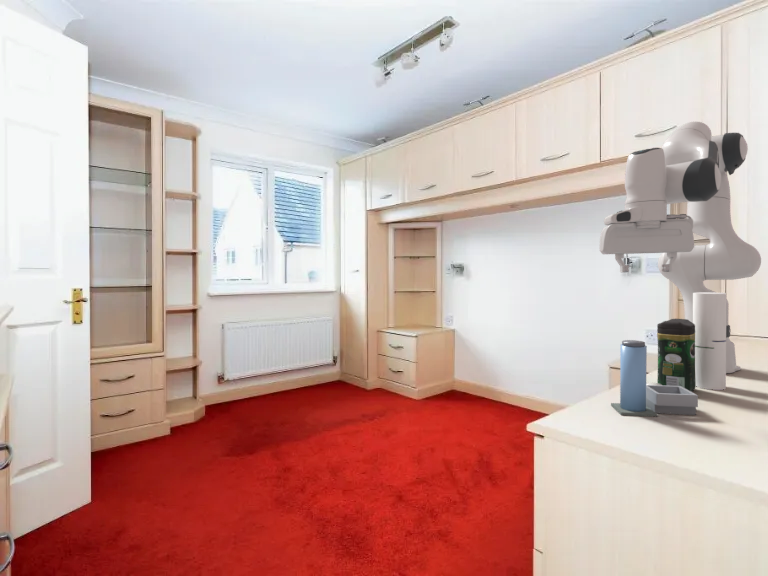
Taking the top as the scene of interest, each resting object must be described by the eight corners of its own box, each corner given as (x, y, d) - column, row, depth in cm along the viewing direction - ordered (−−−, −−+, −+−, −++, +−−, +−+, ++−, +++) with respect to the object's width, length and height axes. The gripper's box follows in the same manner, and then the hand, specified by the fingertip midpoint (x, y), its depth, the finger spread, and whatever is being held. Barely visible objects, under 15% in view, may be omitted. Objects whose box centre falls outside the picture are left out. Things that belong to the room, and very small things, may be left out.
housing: (630, 394, 110) (630, 376, 110) (665, 395, 108) (665, 377, 108) (656, 414, 94) (656, 393, 94) (698, 416, 93) (698, 395, 93)
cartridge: (617, 403, 100) (617, 339, 99) (640, 404, 99) (641, 339, 98) (624, 411, 95) (625, 343, 94) (649, 412, 94) (650, 344, 93)
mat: (611, 405, 101) (611, 402, 101) (644, 406, 100) (644, 404, 100) (621, 415, 94) (621, 412, 94) (656, 416, 93) (656, 413, 93)
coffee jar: (663, 384, 120) (663, 316, 120) (698, 389, 114) (698, 318, 114) (653, 390, 113) (653, 319, 113) (689, 396, 108) (689, 321, 107)
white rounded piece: (640, 394, 109) (640, 382, 109) (658, 394, 108) (658, 382, 108) (646, 398, 105) (646, 386, 105) (665, 399, 104) (665, 386, 104)
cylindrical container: (731, 390, 113) (732, 293, 112) (700, 389, 114) (701, 293, 113) (716, 383, 120) (717, 292, 119) (687, 382, 121) (687, 292, 120)
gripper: (686, 215, 108) (686, 271, 108) (597, 218, 112) (597, 272, 112) (699, 211, 102) (699, 271, 102) (604, 215, 106) (604, 272, 106)
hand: (645, 272), depth 107 cm, fingers open, 8 cm apart
